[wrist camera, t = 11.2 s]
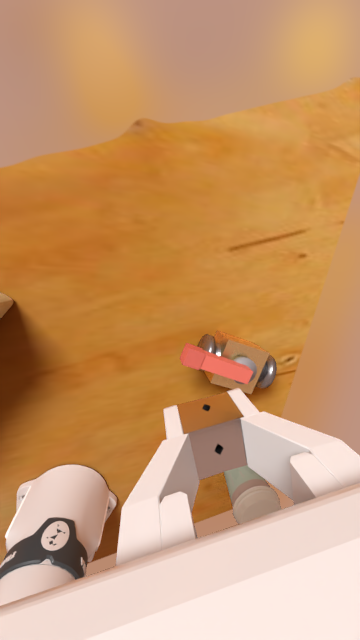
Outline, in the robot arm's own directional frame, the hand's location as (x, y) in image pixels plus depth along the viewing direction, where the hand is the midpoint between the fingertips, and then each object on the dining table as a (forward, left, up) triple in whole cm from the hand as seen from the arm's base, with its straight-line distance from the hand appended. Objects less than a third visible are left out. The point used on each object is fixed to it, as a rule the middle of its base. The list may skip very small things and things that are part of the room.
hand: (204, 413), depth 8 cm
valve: (-5, -16, -31) cm, 35 cm away
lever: (-5, -12, -25) cm, 28 cm away
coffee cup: (-27, -27, -31) cm, 49 cm away
